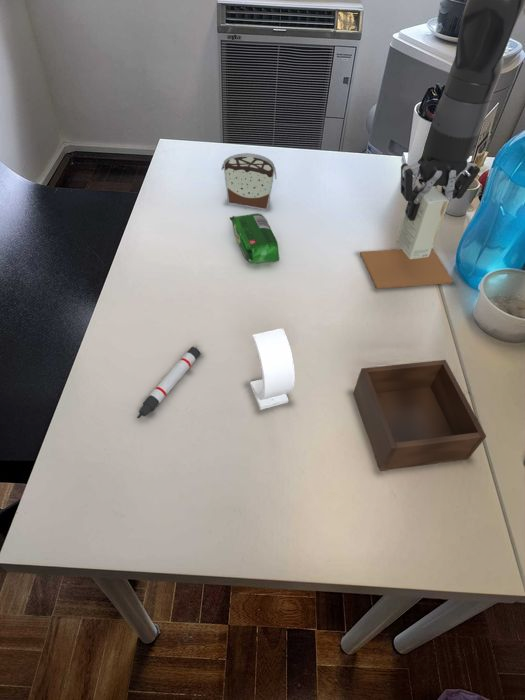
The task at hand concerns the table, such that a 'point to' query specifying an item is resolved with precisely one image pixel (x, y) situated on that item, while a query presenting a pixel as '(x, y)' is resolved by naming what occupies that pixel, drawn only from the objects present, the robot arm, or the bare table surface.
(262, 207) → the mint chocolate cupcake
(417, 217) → the cosmetic box
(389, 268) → the mat
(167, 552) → the table surface
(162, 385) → the marker
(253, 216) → the snack package
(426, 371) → the compartment
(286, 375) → the headphone stand
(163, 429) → the table surface
